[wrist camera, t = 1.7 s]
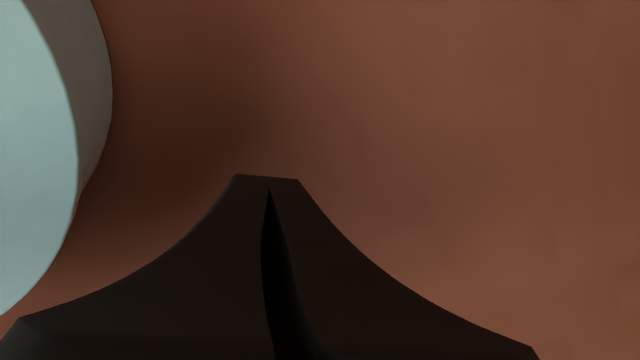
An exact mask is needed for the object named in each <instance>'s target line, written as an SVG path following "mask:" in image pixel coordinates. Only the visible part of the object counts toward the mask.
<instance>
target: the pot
mask: <svg viewBox="0 0 640 360" xmlns="http://www.w3.org/2000/svg"><path fill="white" fill-rule="evenodd" d="M112 100H113V89H112V75H111V65H110V60H109V56H108V51H107V46H106V41H105V38H104V35H103V32H102V29H101V26H100V23H99V20H98V18H97V15H96V12H95V9H94V7H93V5H92V3H91V1H90V0H0V316H1V315H2V314H4V313H5V312H7V311H8V310H9V309H11V308H12V307H13V306H14V305H15V304H16V303H17V302H19V301H20V300H21V299H22V298H23V297H24V296H26V295H27V294H28V293H29V292H30V291H31V289H32V288H33V287H34V286H35V285H36V284H37V282H38V281H39V280H40V279H41V278H42V276H43V275H44V274H45V273H46V272H47V270H48V269H49V267H50V265H51V263H52V262H53V260H54V258H55V257H56V255H57V253H58V252H59V250H60V248H61V247H62V245H63V243H64V241H65V239H66V237H67V234H68V232H69V229H70V227H71V224H72V221H73V219H74V216H75V214H76V210H77V205H78V201H79V197H80V195H81V193H82V191H83V189H84V188H85V186H86V184H87V182H88V181H89V179H90V177H91V175H92V173H93V172H94V170H95V168H96V166H97V164H98V162H99V159H100V157H101V154H102V152H103V149H104V147H105V144H106V140H107V136H108V131H109V127H110V122H111V114H112Z"/></svg>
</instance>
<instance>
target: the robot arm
mask: <svg viewBox="0 0 640 360" xmlns="http://www.w3.org/2000/svg"><path fill="white" fill-rule="evenodd" d="M0 360H540V359H539V358H538V356H537V354H536V353H535V352H534V350H533V349H532V347H530V346H528V345H525V344H523V343H520V342H518V341H515V340H513V339H510V338H508V337H505V336H502V335H500V334H497V333H495V332H492V331H490V330H487V329H485V328H482V327H480V326H478V325H475V324H473V323H471V322H469V321H467V320H465V319H463V318H461V317H459V316H457V315H455V314H453V313H451V312H449V311H447V310H445V309H443V308H441V307H439V306H437V305H436V304H434V303H432V302H430V301H428V300H427V299H425V298H423V297H422V296H420V295H419V294H417V293H416V292H414V291H412V290H411V289H409V288H408V287H406V286H404V285H403V284H401V283H400V282H398V281H397V280H396V279H394V278H393V277H391V276H390V275H389V274H387V273H386V272H385V271H384V270H382V269H381V268H380V267H378V266H377V265H376V264H375V263H373V262H372V261H371V260H370V259H368V258H367V257H366V256H365V255H364V254H363V253H361V252H360V251H359V250H358V249H357V248H356V247H355V246H354V245H353V244H352V243H351V242H350V241H349V240H348V239H347V238H346V237H345V236H344V235H343V234H342V233H341V232H340V231H339V230H338V229H337V228H336V227H335V226H334V224H333V223H332V222H331V221H330V220H329V219H328V218H327V216H326V215H325V214H324V213H323V212H322V210H321V209H320V208H319V207H318V205H317V204H316V203H315V201H314V200H313V199H312V197H311V196H310V195H309V193H308V192H307V191H306V190H305V188H304V187H303V186H302V184H301V183H300V182H299V181H298V179H287V178H277V177H266V176H256V175H246V174H235V175H234V176H233V177H231V178H230V181H229V183H228V185H227V186H226V188H225V190H224V191H223V193H222V194H221V196H220V197H219V198H218V200H217V201H216V202H215V203H214V205H213V206H212V207H211V208H210V209H209V211H208V212H207V213H206V214H205V215H204V217H203V218H202V219H201V220H200V221H199V222H198V223H197V224H196V225H195V226H194V227H193V228H192V229H191V230H190V231H189V232H188V233H187V234H186V235H185V236H184V237H183V238H181V239H180V240H179V241H178V242H177V243H176V244H175V245H173V246H172V247H171V248H170V249H168V250H167V251H166V252H164V253H163V254H162V255H161V256H159V257H158V258H157V259H155V260H154V261H152V262H151V263H149V264H147V265H145V266H144V267H142V268H140V269H139V270H137V271H135V272H134V273H132V274H130V275H129V276H127V277H125V278H123V279H121V280H119V281H117V282H115V283H113V284H111V285H109V286H107V287H105V288H102V289H100V290H98V291H95V292H93V293H90V294H88V295H86V296H83V297H81V298H78V299H75V300H73V301H70V302H67V303H64V304H61V305H58V306H54V307H51V308H48V309H45V310H42V311H39V312H36V313H33V314H30V315H26V316H22V317H19V318H18V319H17V320H16V322H15V323H14V324H13V326H12V327H11V328H10V329H9V331H8V332H7V333H6V335H5V336H4V337H3V339H2V340H1V341H0Z"/></svg>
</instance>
